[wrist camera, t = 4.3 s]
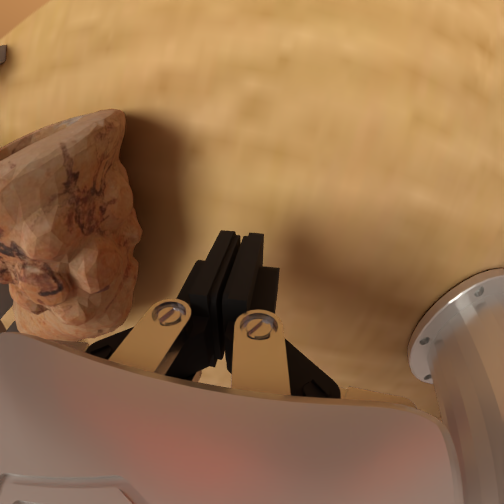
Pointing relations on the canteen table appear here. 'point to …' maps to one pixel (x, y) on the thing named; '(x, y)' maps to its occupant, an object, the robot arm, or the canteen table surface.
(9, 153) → the clay pipe
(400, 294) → the canteen table surface
